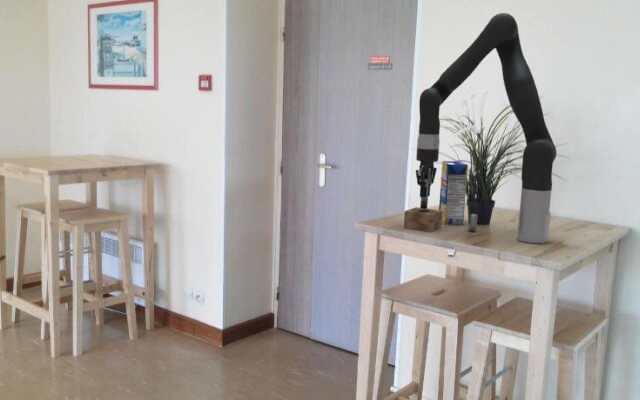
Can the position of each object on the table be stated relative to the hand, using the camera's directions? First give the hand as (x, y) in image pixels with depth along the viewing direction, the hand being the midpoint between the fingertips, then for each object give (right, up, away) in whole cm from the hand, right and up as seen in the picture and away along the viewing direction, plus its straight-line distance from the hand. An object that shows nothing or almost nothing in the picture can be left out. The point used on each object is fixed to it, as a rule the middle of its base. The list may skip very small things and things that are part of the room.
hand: (424, 196), depth 216 cm
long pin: (0, -4, +1) cm, 4 cm away
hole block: (0, -11, +2) cm, 11 cm away
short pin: (+16, -12, -1) cm, 20 cm away
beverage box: (+12, -10, +14) cm, 21 cm away
